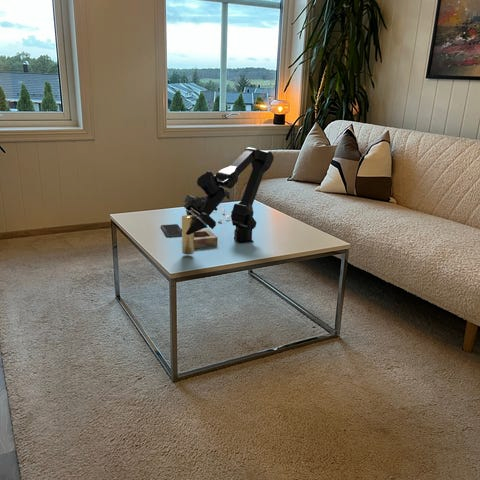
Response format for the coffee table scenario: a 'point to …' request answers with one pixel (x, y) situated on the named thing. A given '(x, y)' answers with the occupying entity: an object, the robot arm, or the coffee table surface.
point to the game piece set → (223, 213)
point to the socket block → (204, 238)
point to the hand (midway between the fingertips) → (184, 232)
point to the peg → (187, 239)
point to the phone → (172, 230)
